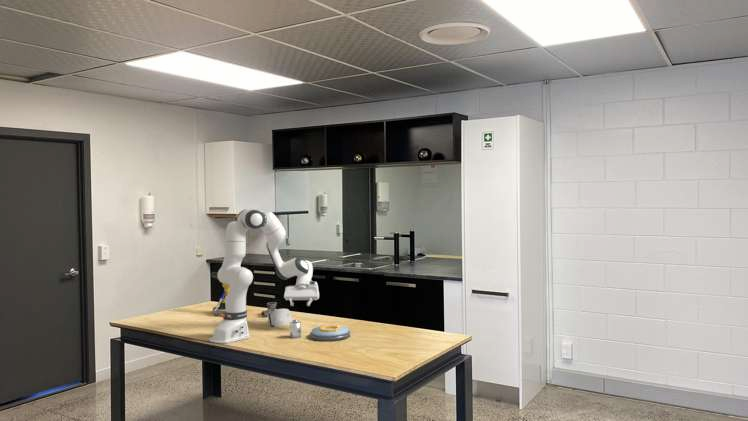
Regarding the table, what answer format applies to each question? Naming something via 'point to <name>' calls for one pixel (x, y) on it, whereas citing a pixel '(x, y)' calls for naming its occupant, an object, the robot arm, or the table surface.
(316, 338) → the turntable base
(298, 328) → the silver can
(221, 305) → the cordless drill
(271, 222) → the robot arm
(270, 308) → the pipe
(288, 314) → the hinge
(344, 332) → the turntable platter
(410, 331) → the table surface
